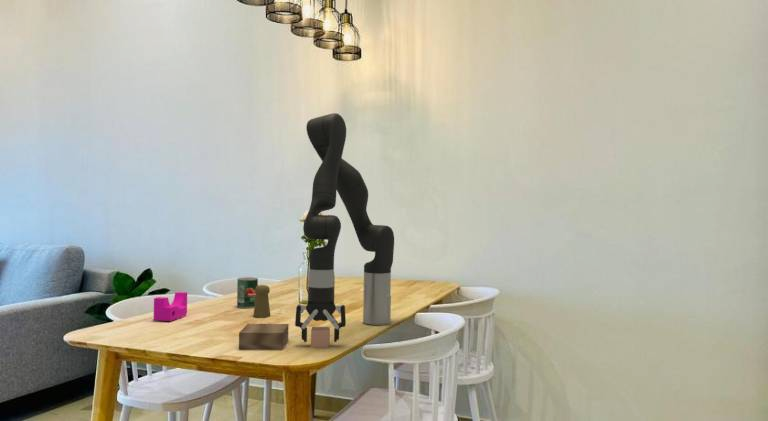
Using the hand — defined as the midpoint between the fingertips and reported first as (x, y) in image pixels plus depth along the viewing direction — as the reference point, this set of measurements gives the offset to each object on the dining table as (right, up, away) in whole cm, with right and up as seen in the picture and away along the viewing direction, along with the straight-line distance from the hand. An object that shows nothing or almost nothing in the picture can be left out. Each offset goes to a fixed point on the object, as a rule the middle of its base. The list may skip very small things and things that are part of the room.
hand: (320, 341), depth 159 cm
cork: (-26, -1, +42) cm, 49 cm away
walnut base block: (-16, -1, 0) cm, 16 cm away
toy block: (-57, -1, +39) cm, 69 cm away
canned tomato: (-36, -1, +60) cm, 70 cm away
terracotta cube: (0, -1, 0) cm, 1 cm away
